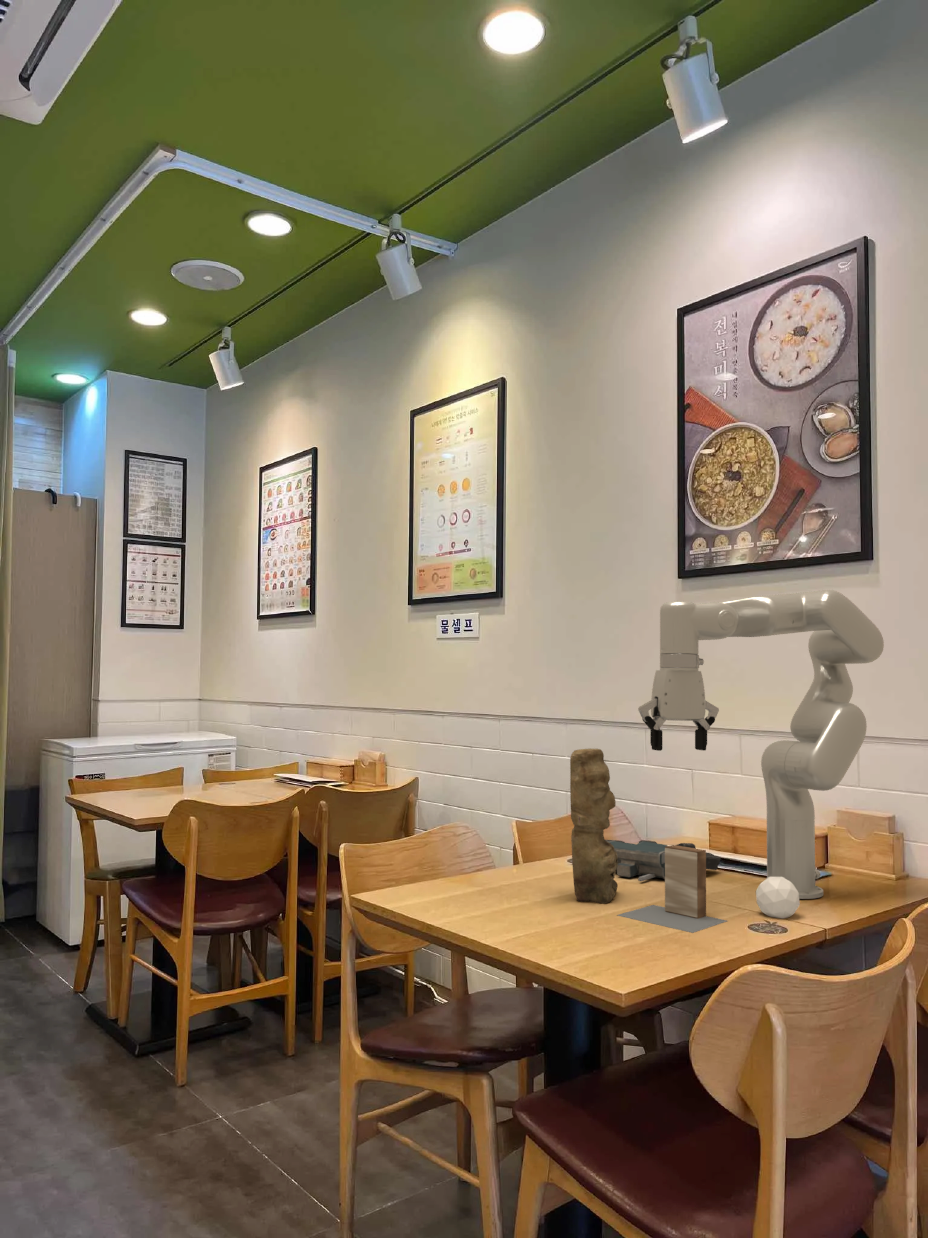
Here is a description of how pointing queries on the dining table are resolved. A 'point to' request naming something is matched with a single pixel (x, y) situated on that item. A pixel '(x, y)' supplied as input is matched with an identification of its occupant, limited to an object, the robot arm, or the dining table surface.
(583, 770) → the sculpture
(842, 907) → the dining table surface
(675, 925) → the mat
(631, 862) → the toy
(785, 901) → the geometric ball
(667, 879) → the wooden block
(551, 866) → the dining table surface
